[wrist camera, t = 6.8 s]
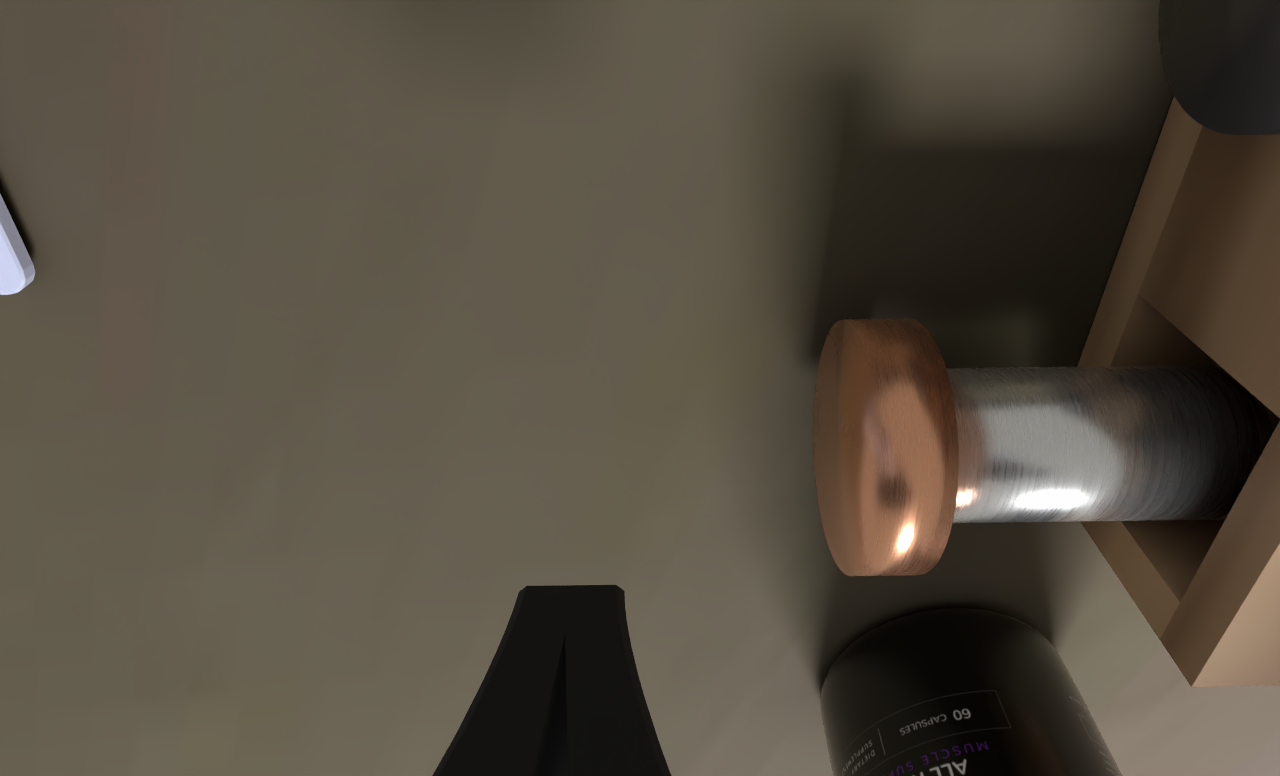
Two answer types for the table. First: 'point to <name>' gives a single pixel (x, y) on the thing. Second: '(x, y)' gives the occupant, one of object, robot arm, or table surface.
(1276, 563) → the catch block
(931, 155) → the table surface
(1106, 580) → the table surface
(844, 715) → the supplement bottle
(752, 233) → the table surface
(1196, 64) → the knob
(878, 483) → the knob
